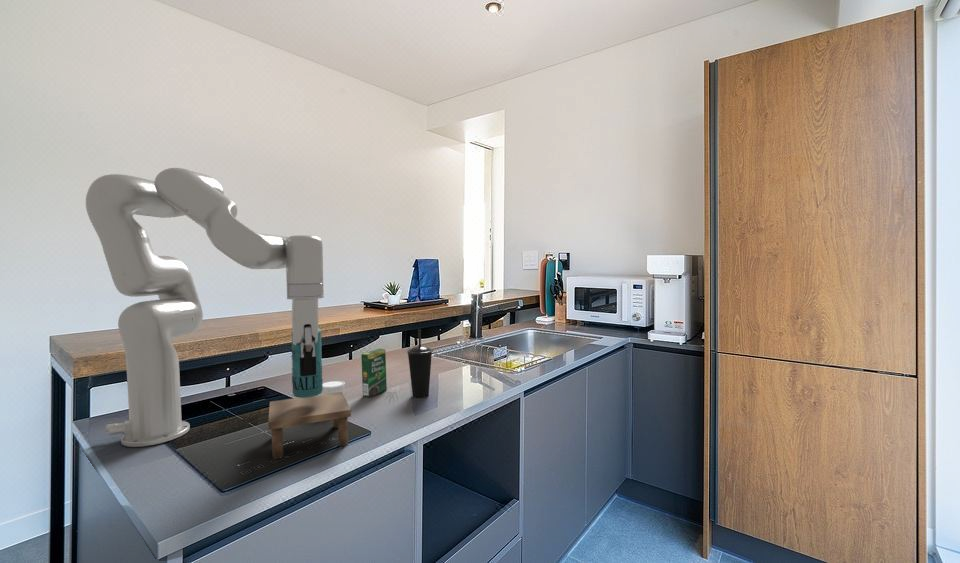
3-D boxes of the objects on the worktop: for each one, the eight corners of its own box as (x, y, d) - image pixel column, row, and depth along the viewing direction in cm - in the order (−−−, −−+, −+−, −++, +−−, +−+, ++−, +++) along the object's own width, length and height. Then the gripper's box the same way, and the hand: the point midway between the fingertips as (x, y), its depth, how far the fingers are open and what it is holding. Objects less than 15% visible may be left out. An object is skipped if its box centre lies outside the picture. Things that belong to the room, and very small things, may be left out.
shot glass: (337, 414, 109) (337, 388, 109) (314, 412, 111) (313, 386, 110) (350, 405, 116) (350, 380, 116) (328, 403, 118) (327, 379, 117)
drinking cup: (403, 398, 122) (402, 330, 121) (413, 390, 129) (412, 326, 128) (428, 400, 120) (427, 331, 119) (436, 392, 127) (436, 327, 126)
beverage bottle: (314, 393, 98) (312, 309, 97) (329, 399, 93) (327, 311, 92) (286, 400, 93) (284, 311, 92) (301, 407, 88) (299, 314, 87)
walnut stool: (269, 461, 84) (268, 422, 83) (270, 435, 96) (269, 401, 96) (351, 445, 91) (350, 409, 90) (342, 423, 103) (341, 391, 103)
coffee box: (368, 398, 122) (367, 354, 121) (361, 396, 124) (360, 353, 123) (387, 390, 129) (386, 349, 128) (380, 389, 131) (379, 348, 130)
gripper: (286, 289, 98) (288, 364, 99) (287, 295, 82) (289, 383, 83) (320, 288, 101) (321, 361, 102) (327, 293, 86) (329, 379, 86)
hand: (307, 370), depth 93 cm, fingers open, 6 cm apart
